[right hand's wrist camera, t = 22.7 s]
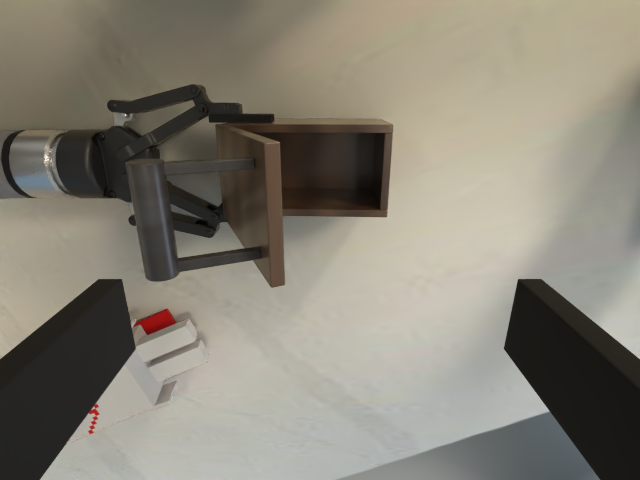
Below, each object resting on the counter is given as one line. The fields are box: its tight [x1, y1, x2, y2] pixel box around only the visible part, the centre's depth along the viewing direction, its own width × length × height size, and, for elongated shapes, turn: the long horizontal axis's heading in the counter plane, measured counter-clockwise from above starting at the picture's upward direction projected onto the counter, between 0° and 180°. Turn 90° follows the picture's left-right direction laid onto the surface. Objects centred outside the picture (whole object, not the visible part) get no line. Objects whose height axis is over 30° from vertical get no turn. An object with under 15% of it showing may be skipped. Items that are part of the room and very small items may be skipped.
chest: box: [225, 119, 393, 217], centre depth 43 cm, size 17×9×10 cm, turn 90°
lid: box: [125, 124, 285, 287], centre depth 29 cm, size 17×9×8 cm
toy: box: [66, 309, 209, 444], centre depth 54 cm, size 12×13×30 cm
